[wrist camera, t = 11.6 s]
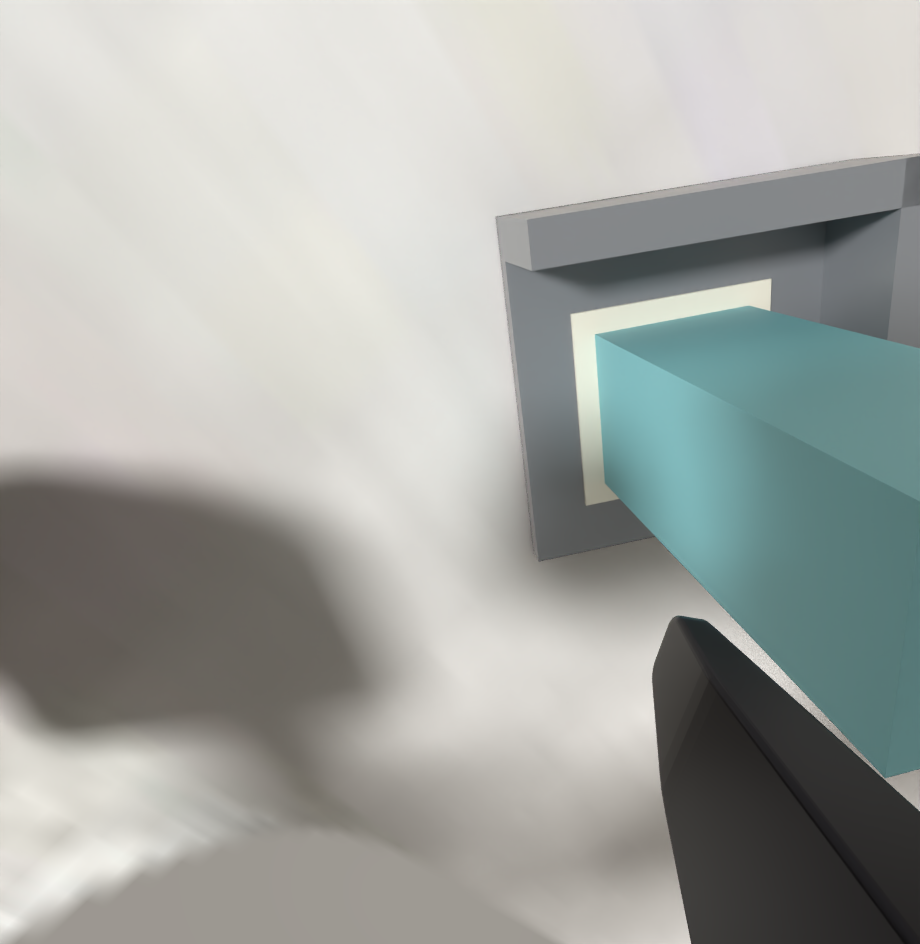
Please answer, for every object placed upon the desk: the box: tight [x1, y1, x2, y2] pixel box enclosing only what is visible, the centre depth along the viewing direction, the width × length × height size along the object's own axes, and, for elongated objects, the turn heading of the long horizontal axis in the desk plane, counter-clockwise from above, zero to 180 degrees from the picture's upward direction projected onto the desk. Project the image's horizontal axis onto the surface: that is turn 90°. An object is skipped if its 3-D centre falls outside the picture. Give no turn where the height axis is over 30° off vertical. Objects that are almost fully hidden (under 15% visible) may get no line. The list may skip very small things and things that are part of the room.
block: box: [595, 306, 920, 778], centre depth 16 cm, size 5×5×12 cm
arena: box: [496, 154, 920, 561], centre depth 20 cm, size 11×11×4 cm
